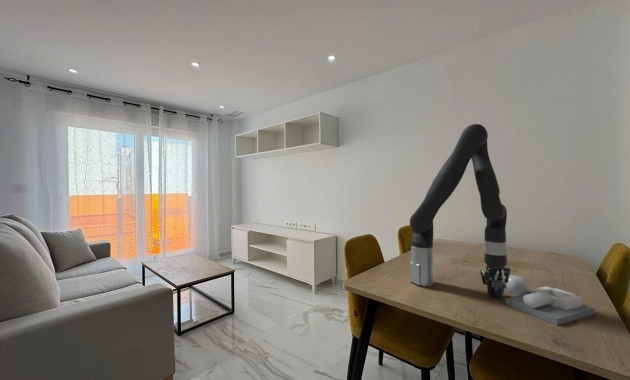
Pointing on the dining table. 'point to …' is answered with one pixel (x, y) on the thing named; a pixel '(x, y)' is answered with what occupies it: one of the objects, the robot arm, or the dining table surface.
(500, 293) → the dark grey domed cylinder
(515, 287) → the cylinder
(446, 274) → the dining table surface
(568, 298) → the socket block
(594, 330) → the dining table surface
